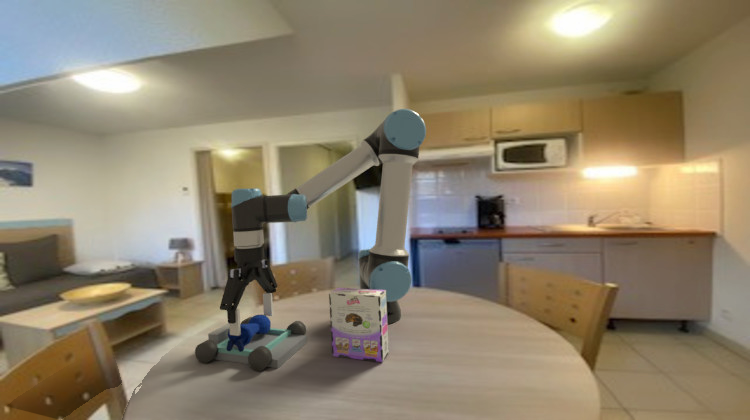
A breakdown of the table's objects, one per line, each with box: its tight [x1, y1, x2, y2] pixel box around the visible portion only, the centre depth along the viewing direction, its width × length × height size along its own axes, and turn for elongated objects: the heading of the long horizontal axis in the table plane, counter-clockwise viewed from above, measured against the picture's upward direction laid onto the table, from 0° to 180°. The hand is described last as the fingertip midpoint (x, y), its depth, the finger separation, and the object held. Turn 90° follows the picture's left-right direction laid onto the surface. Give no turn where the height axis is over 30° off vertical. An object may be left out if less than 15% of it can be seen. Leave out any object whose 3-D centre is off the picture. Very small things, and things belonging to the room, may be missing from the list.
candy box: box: [328, 287, 390, 363], centre depth 83 cm, size 14×6×16 cm, turn 71°
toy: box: [227, 314, 272, 352], centre depth 87 cm, size 7×6×15 cm
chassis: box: [194, 316, 308, 372], centre depth 88 cm, size 24×19×5 cm
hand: (253, 324), depth 88 cm, fingers open, 13 cm apart
